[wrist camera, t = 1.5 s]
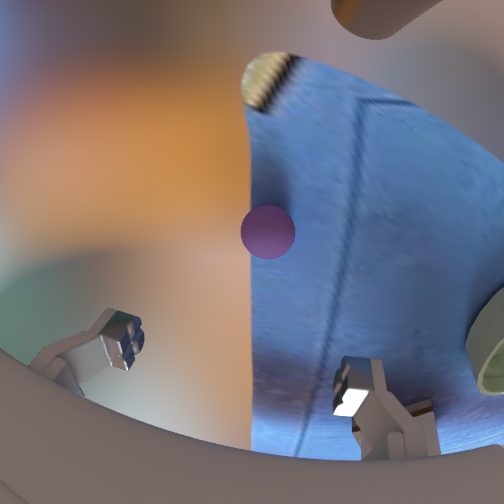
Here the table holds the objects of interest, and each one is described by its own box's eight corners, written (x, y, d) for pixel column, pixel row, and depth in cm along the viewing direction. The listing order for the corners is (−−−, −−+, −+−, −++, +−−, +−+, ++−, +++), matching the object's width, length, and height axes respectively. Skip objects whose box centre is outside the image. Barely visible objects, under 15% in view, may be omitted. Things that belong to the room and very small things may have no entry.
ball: (248, 194, 21) (236, 212, 17) (299, 201, 20) (297, 221, 17) (244, 239, 22) (233, 264, 19) (292, 247, 22) (288, 273, 19)
